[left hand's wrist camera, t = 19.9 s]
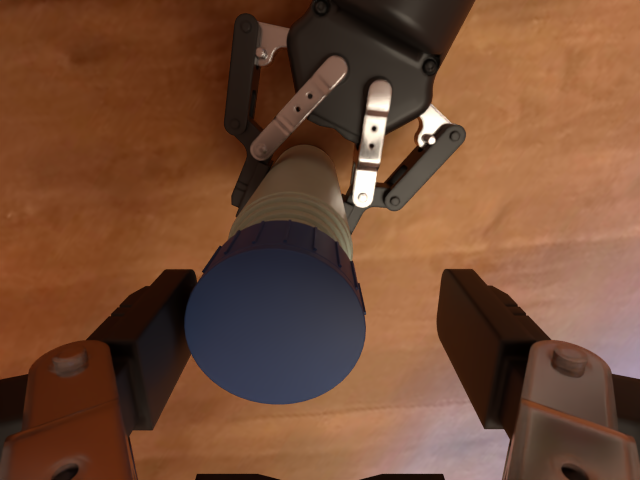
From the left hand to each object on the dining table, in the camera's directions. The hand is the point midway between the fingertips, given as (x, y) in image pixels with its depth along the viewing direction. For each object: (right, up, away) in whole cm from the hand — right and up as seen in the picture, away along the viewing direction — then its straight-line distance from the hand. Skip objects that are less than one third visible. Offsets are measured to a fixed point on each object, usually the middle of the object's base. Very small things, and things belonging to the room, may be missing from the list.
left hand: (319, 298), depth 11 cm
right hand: (-2, +2, +13) cm, 13 cm away
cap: (-1, -1, -1) cm, 2 cm away
